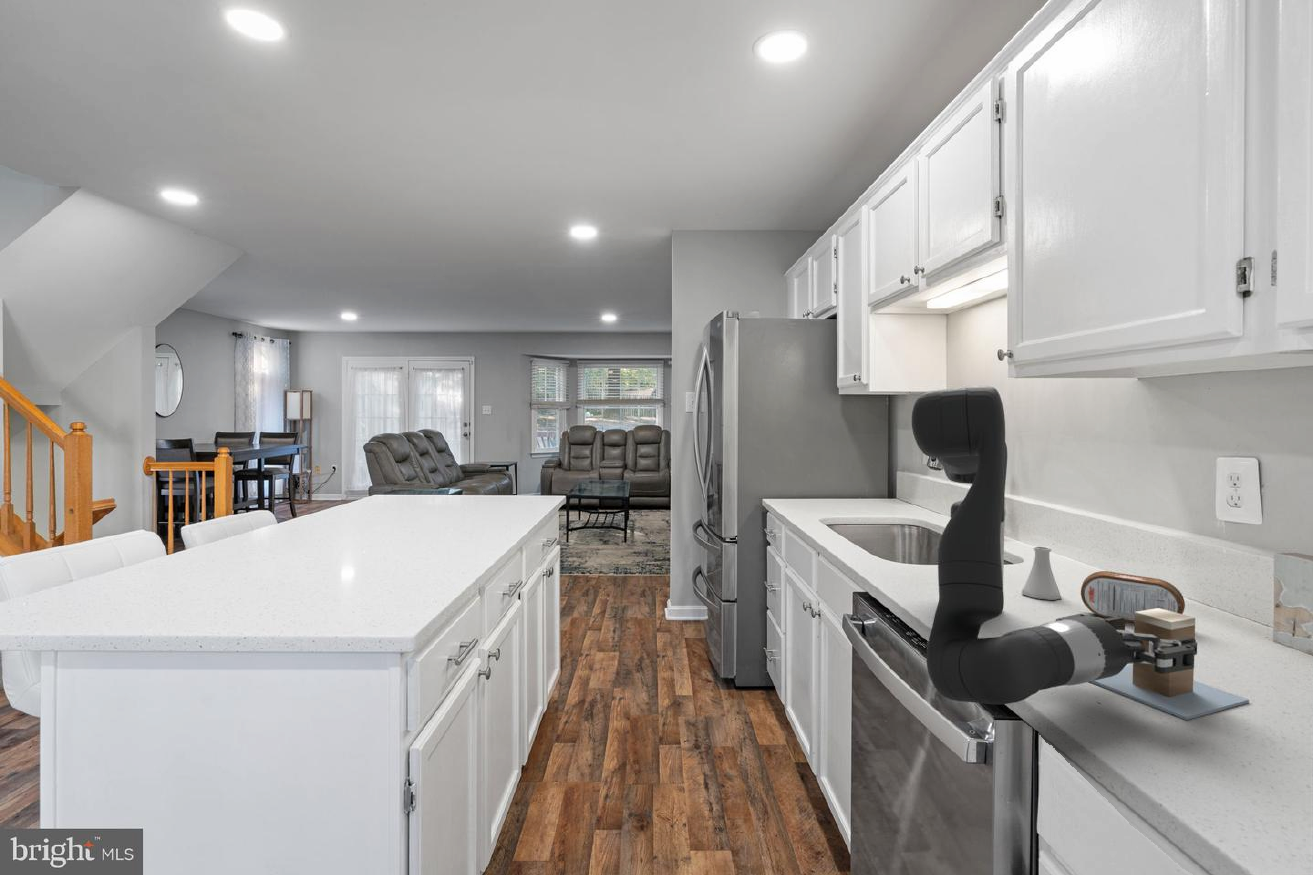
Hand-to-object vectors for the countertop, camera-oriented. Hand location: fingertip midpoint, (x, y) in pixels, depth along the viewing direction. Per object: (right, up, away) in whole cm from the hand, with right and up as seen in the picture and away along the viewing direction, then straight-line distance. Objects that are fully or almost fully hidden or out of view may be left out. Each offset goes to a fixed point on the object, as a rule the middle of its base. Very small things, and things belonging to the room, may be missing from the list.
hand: (1155, 634), depth 85 cm
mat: (+2, -8, +1) cm, 8 cm away
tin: (+19, -7, +29) cm, 35 cm away
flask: (+12, -6, +45) cm, 47 cm away
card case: (+2, -8, +1) cm, 8 cm away
